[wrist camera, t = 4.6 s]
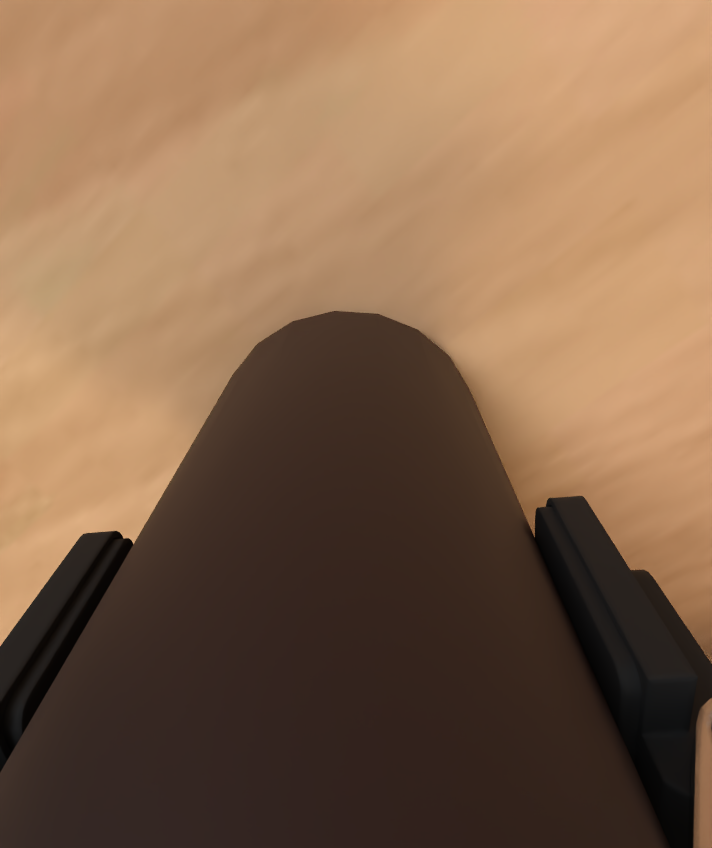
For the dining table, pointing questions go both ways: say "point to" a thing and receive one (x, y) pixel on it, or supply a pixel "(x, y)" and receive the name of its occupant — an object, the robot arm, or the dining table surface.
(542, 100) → the dining table surface
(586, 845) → the vinegar
